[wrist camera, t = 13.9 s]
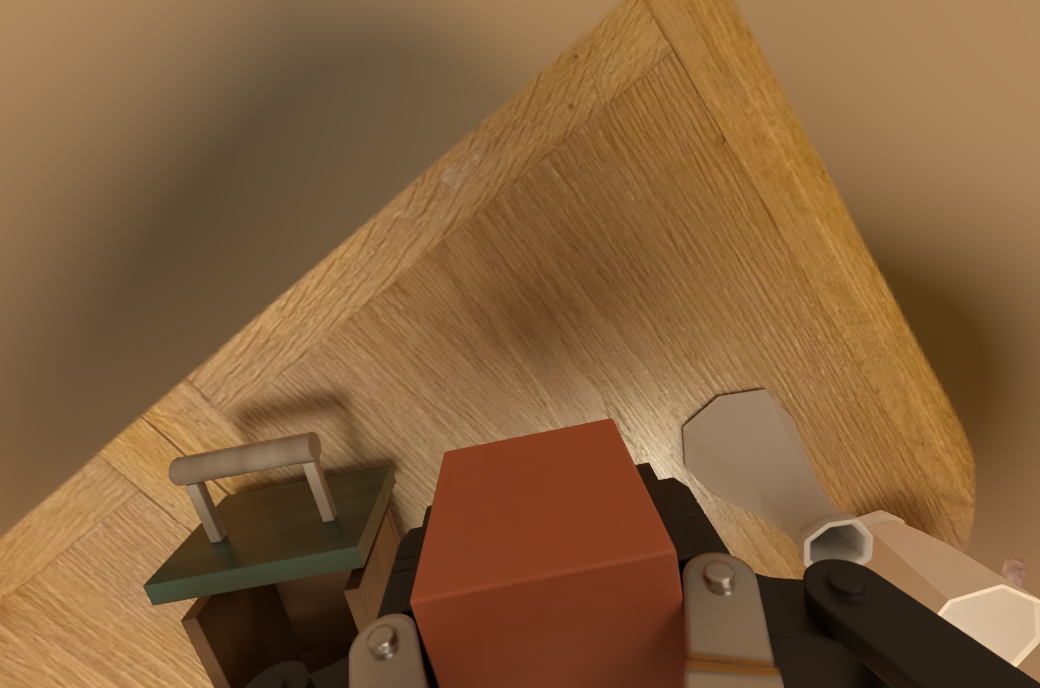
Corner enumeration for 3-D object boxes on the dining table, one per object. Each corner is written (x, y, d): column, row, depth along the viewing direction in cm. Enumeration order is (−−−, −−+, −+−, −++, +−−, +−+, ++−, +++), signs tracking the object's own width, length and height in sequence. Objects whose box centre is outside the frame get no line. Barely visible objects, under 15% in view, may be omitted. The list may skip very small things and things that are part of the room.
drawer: (195, 424, 29) (96, 498, 22) (368, 391, 28) (324, 455, 21) (292, 649, 34) (236, 767, 27) (439, 622, 34) (422, 735, 27)
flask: (772, 368, 30) (898, 451, 20) (807, 461, 32) (937, 577, 22) (662, 419, 31) (734, 522, 21) (703, 507, 33) (786, 638, 23)
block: (482, 586, 14) (471, 785, 9) (443, 450, 13) (407, 602, 8) (636, 557, 14) (703, 744, 9) (612, 416, 13) (677, 550, 8)
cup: (942, 537, 34) (1071, 639, 26) (820, 618, 36) (907, 736, 28) (891, 473, 32) (1012, 561, 25) (766, 561, 34) (842, 669, 26)
